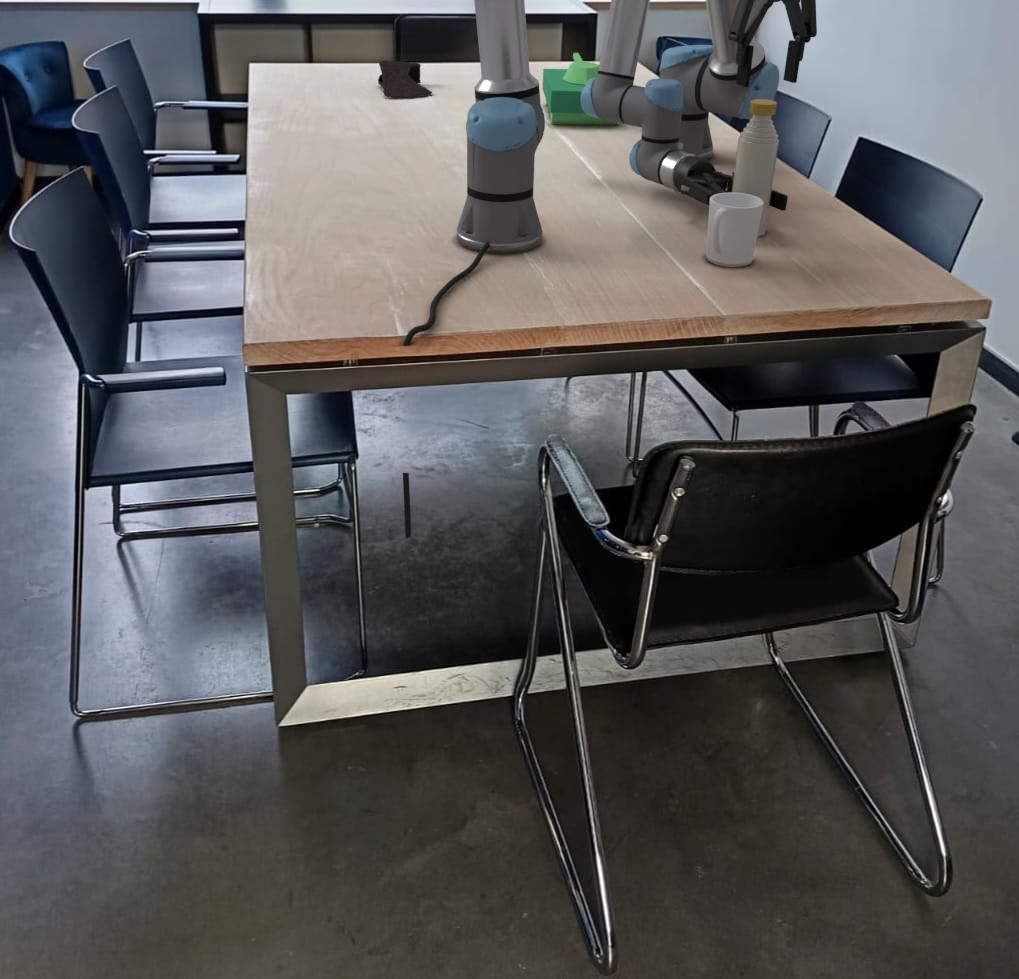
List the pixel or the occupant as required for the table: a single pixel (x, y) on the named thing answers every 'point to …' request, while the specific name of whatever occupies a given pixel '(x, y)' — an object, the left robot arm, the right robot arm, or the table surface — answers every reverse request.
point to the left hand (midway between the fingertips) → (766, 83)
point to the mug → (733, 228)
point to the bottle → (756, 163)
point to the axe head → (401, 79)
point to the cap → (763, 107)
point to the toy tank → (570, 93)
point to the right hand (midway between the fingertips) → (768, 206)
